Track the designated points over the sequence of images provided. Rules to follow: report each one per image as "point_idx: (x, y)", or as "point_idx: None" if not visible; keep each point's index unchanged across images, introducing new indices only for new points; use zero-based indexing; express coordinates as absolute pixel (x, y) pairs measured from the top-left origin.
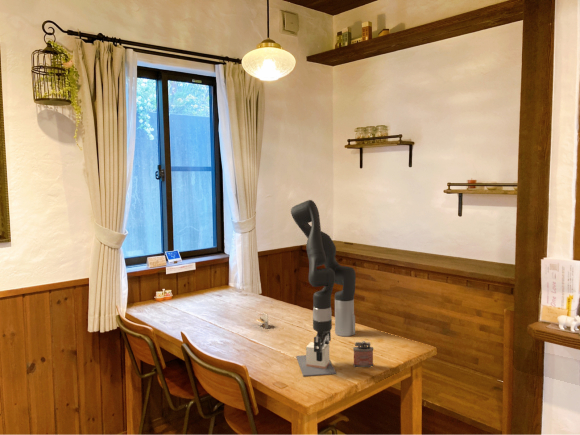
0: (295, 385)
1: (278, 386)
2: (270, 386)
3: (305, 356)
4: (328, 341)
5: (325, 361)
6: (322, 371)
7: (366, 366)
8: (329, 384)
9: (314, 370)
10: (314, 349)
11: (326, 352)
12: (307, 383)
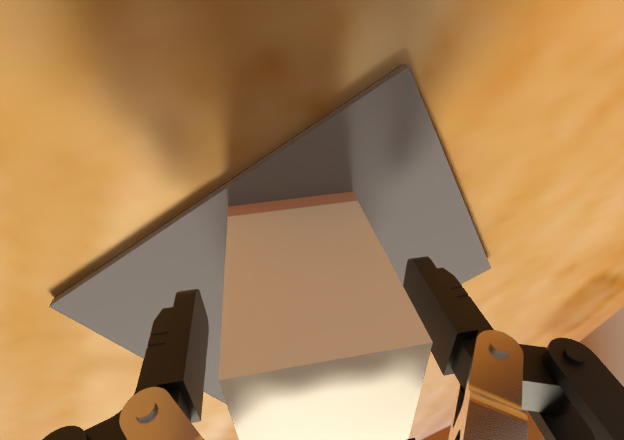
0: (602, 246)
1: (603, 301)
2: (599, 324)
3: (206, 374)
4: (168, 434)
5: (365, 230)
6: (407, 191)
7: None
8: (615, 46)
9: (404, 245)
10: (577, 413)
11: (351, 297)
12: (582, 203)
